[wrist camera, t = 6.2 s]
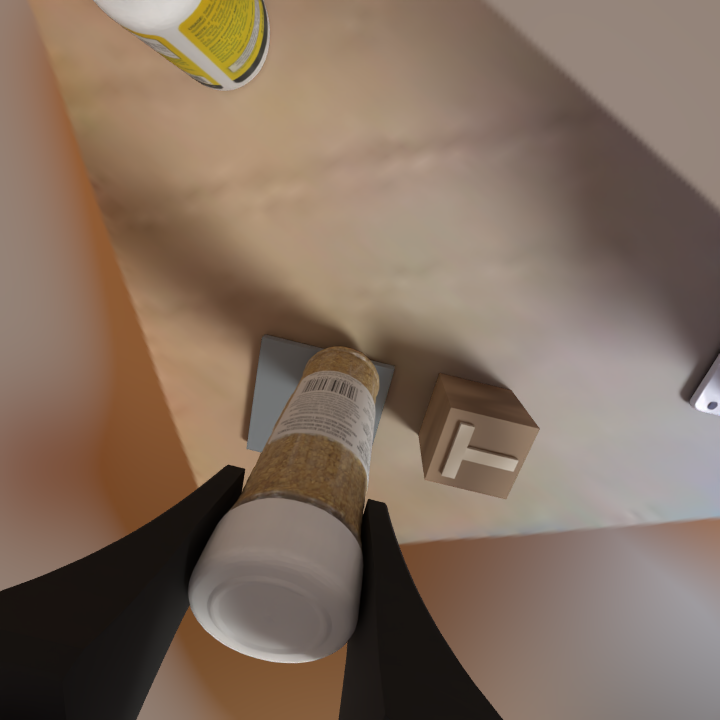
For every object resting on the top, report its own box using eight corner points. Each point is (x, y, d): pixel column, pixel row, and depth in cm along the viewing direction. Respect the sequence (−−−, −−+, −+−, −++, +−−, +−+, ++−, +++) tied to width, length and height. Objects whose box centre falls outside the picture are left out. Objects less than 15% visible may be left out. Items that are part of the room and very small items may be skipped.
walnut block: (511, 389, 22) (541, 431, 18) (485, 450, 24) (507, 502, 19) (439, 372, 22) (451, 409, 18) (418, 434, 24) (424, 482, 19)
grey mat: (394, 366, 22) (394, 369, 21) (363, 471, 25) (363, 477, 24) (265, 334, 22) (262, 337, 21) (249, 443, 25) (246, 448, 24)
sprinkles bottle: (294, 393, 22) (165, 635, 10) (321, 330, 20) (202, 530, 8) (362, 423, 23) (318, 691, 10) (394, 363, 21) (388, 603, 8)
